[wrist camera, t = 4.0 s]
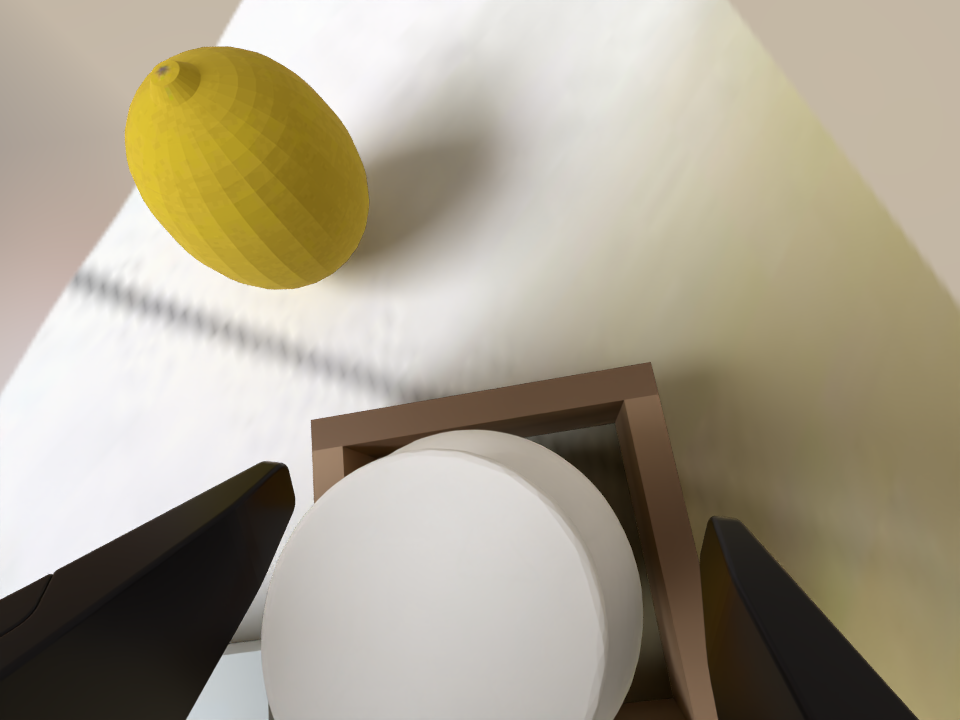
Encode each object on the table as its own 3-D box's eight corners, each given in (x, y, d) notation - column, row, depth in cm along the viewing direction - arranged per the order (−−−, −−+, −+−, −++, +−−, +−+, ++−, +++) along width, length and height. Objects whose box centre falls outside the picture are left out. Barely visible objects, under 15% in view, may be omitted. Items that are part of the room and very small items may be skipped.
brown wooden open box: (714, 732, 13) (753, 786, 11) (375, 765, 14) (326, 823, 12) (636, 391, 16) (650, 362, 13) (354, 438, 17) (311, 420, 14)
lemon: (390, 166, 20) (278, -59, 12) (409, 306, 18) (292, 146, 10) (246, 201, 20) (55, 8, 13) (251, 341, 19) (32, 212, 11)
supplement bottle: (606, 466, 16) (654, 376, 6) (622, 680, 14) (716, 966, 5) (420, 470, 16) (228, 396, 7) (415, 674, 15) (164, 910, 6)
